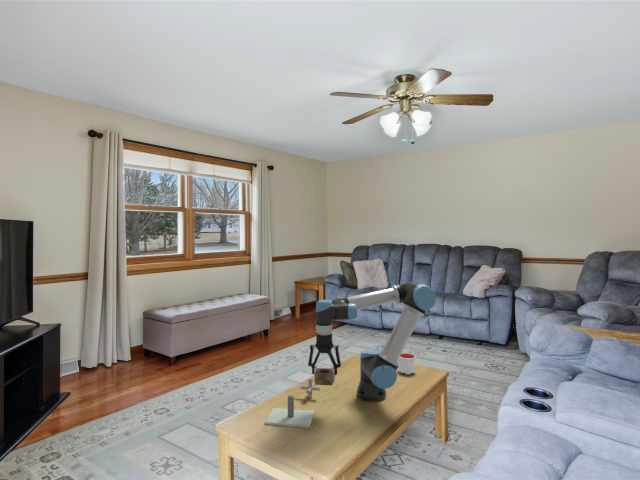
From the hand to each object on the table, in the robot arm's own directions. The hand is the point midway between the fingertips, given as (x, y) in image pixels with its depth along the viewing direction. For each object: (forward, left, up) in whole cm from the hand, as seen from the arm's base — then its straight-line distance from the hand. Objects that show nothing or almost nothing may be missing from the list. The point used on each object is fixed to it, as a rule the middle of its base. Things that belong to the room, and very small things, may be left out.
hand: (324, 381), depth 180 cm
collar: (0, 0, 0) cm, 0 cm away
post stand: (+14, +9, -15) cm, 22 cm away
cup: (-42, -59, -15) cm, 74 cm away
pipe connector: (+9, -14, -15) cm, 22 cm away
